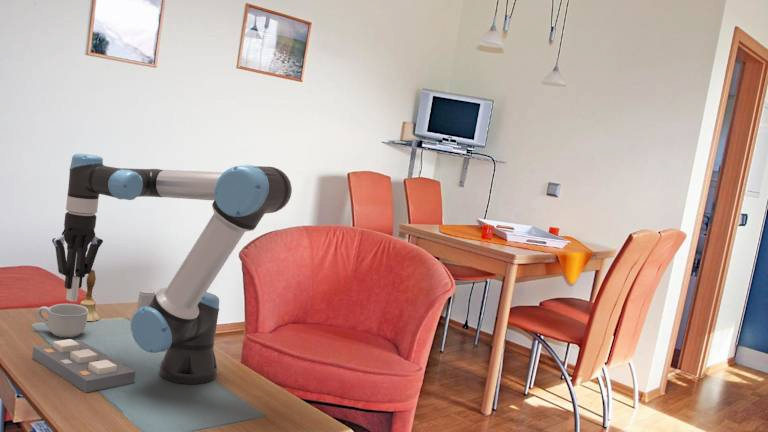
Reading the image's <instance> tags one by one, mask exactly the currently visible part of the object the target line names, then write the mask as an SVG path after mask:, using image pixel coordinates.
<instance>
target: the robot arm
mask: <svg viewBox="0 0 768 432" xmlns="http://www.w3.org/2000/svg"><path fill="white" fill-rule="evenodd" d="M70 161H71V163H70V166H69V176H68V178H69V179H68V189H67V194H66V195H67V196H66V206H65V210H66V211H67V212H66V213H65V214H64V222H63V226H64V227H63V228H64V229H63V231H62V232H61V235H60V236H58V237H57V238H56V237H54V238H52V240H51V242H52V243H53V245H54V247H55V255H56V256H55V257H56V263H57V270H58V273H59V274H60V275H62V276H65V279H64V288H65V289H66V295H65V300H67V301H69V302H72V303H73V302H78V297H79V296H78V295H79V289H81V288H82V287H83V286H82V285H83V279H84V278H85V277H86V275H88V274H90V272H91V270H93V266H94V264H95V259H96V256H97V254H98V251H99V248H101V246H102V244H103V243H104V240H103V239H102V238H99V237H97V236H96V232H95V229H96V223H97V215H96V214H97V213H98V205H99V197H100V195H103V196H108V197H111V198H115V199H118V200H127V201H133V200H135V199H136V198H139V197H140V198H141V197H146V198H147V197H150V198H151V197H152V198H153V197H154V198H168V199H169V198H170V199H172V198H173V199H187V200H200V201H201V200H202V201H203V200H204V201H213V202H212V205H211V207H212V210H213V215H212V216H211V217H210V219H209V221H208V222H207V224H206V225H205V227H204V229H203V230H202V232H201V233H200V235H199V237H198V238H197V240H196V241H195V243H194V244H193V246H192V247H191V249H190V251H189V252H188V253H187V255H186V257H185V259H184V260H183V262H182V263H181V265H180V267H179V268H178V270H177V271H176V273H175V274H174V275H173V277H172V279H171V281H170V282H169V284H168V285H167V287H162V288H160V289H158V290H157V291H156V292H155V296H154V297H153V299H152V301H151V302H150V304H149V305H148V306H145V307H142V308H141V309H139V310H137V309H136V311H135V312H134V313H133V315H132V317H131V320H130V331H131V335H132V338H133V340H134V342H135V343H136V345H137V346H138V347H139V348H140V349H142V350H143V351H145V352H147V353H151V354H156V353H160V352H161V353H162V352H165V354H164V356H163V359H162V360H161V361H160V364H159V371H158V373H159V376H160V377H162V378H163V379H165V380H167V381H170V382H172V383H178V384H183V385H184V384H186V385H198V384H205V383H209V382H211V381H213V380H214V379H216V378H217V374H218V373H217V372H218V365H217V361H216V354H215V349H214V347H215V346H214V345H215V340H216V339H215V338H216V332H217V324H218V317H219V312H220V298H219V297H218V296H217V295H216V294H214V293H211V292H207V291H208V289H210V287H211V285H212V284H213V282H214V280H215V279H216V278H217V276H218V274H219V273H220V271H221V270H222V268H224V267H223V266H224V265H226V262H227V261H228V259H229V258H230V256H231V254H232V253H233V251H234V249H235V248H236V247H237V245H238V244H239V242H240V241H241V239H242V238H243V236H244V234H245V233H246V232H251V231H252V232H253V231H254V230H255V229H256V228H257V226H258V225H259V223H260V221H261V220H262V218H263V217H264V216H265V214H273V213H277V212H278V211H280V210H282V209H283V208H285V207H286V206H287V204H288V203H289V201H290V200H291V197H292V191H293V190H292V188H293V187H292V184H291V180H290V179H289V177H288V176H287V174H286V173H285V172H284V171H282V169H279V168H276V167H273V166H262V165H261V166H257V165H253V164H252V165H251V164H241V165H236V166H232V167H230V168H227V169H226V170H225V171H223V172H221V171H199V170H197V171H196V170H179V169H174V170H173V169H160V168H129V167H128V168H123V167H115V166H107V165H104V163H103V161H104V159H103V157H102V156H99V155H96V154H95V155H94V154H88V153H75V154H73V155H72V158H71V160H70ZM65 243H66V245H67V247H66V248H65ZM88 246H89V247H88ZM65 249H66V250H67V255H66V250H65Z"/></svg>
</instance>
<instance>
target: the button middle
mask: <svg viewBox="0 0 768 432" xmlns="http://www.w3.org/2000/svg"><path fill="white" fill-rule="evenodd" d="M97 358H98V354H96V353H94V352H93V351H91V350H89V349H85V350H78V351H72V352H71V353H70V359H72V360H73V361H75V362H77V363H78V364H82V363H88V362H94V361H97Z"/></svg>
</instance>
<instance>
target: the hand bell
mask: <svg viewBox="0 0 768 432" xmlns="http://www.w3.org/2000/svg"><path fill="white" fill-rule="evenodd" d="M95 271H96V270H94V269H91V272H90V274H87V277H86V288H87V290H86V295H85V299H84V300H82V301H80V303H79V305H81V306H84V307H86V308H87V309H88V313H87V321H94V322H97V321H96V320H98V321H100V320H101V317H100V316H99V314H98V313H97V312H98V311H97V310H96V309H97V308H96V307H97V306H96V302H95V301H93V300H92V298H93V289H94V287H95V283H96V273H95ZM99 319H100V320H99Z"/></svg>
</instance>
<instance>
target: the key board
mask: <svg viewBox="0 0 768 432" xmlns="http://www.w3.org/2000/svg"><path fill="white" fill-rule="evenodd" d="M74 341H75V342H77V343H79V344H80V349H79V350H85V349H89V350H91V351H93V352H94V353H96V354H98V358H97V361H101V360H108V361H110V362H112V363H113V364H115V365H117V369H116V372H114V373H109V374H103V375H96V374H95V373H93V372H91V371H90V370H88V366H89V363H90V362H88V363H82V364H78V363H77V362H75V361H73V360H72V359H70V353H71V352H66V353H60V352H59V351H57V350H55V349H54V348H53V343H52V344H47V345H38V346H33V348H32V359H33V360H35V361H37V362H38V363H39V364H40V365H42V366H44V367H46V368H47V369H48V370H50V371H51V372H54V373H55V374H56V375H58V376H60V377H61V378H63V379H64V380H65V381H67V382H69V383H70V384H71V385H73V386H75V387H76V388H77V389H79V390H81V391H82V392H84V393H85V394H87V393H90V392H95V391H100V390H105V389H110V388H115V387H120V386H125V385H130V384H134V383H135V378H136V377H135V376H136V371H135V370H133V369H132V368H131V367H128V366H126V365H124V364H123V363H121V362H120V361H118V360H116V359H114V358H112V357H111V356H109V355H107V354H106V353H103V352H102V351H100V350H98V349H96V348H95V347H93V346H91V345H89V344H88V343H86V342H84V341H83V340H80V339H79V340H74ZM94 362H95V361H94Z"/></svg>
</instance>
